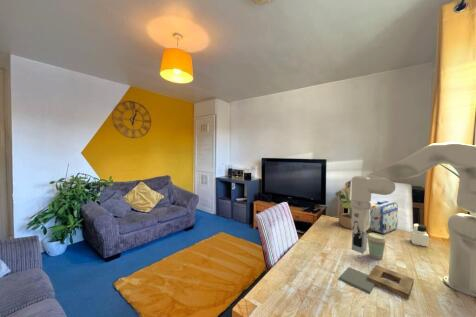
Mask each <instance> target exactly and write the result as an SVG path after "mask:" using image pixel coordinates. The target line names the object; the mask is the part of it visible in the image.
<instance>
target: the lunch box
mask: <svg viewBox="0 0 476 317" xmlns="http://www.w3.org/2000/svg"><path fill="white" fill-rule="evenodd" d="M398 206H399V204H398V203H397V202H396V201H395V202H394V201H393V202H392V201H389V200H388V201H387V200H383V201H377V202H376V203H373V204H372V203H371V209H370V210H369V211H370V230H371V231H373V232H376V233H379V234H381V235H385V234H388V233H390V232H392V231H395V230H396V229H398V225H399V219H398V218H399V216H398V214H399V207H398Z"/></svg>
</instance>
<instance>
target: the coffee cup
mask: <svg viewBox="0 0 476 317" xmlns="http://www.w3.org/2000/svg"><path fill="white" fill-rule="evenodd" d="M367 242H368V243H367V245H368V252H369V253H368V255H369V257H370V258H372V259H374V260H376V261H377V260H378V261H381V260H383V256H384V251H385V245H386V242H387V238H386V237H385V236H384V234H381V233H378V232H376V233H375V232H368V233H367Z"/></svg>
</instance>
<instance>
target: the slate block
mask: <svg viewBox="0 0 476 317" xmlns="http://www.w3.org/2000/svg"><path fill="white" fill-rule="evenodd" d="M351 233H352V235H351V239H352V240H351V251H355V252H358V253H361V254H364V253H365V252H366V251H367V245H368V243H367V242H368V238H367V236H368V232H367V231H366V232H364V233H363V232H362V234H361V238H362V247H358V246H355V245H353V231H352V232H351ZM358 233H359V232H358Z"/></svg>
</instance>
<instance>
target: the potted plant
mask: <svg viewBox="0 0 476 317" xmlns="http://www.w3.org/2000/svg"><path fill="white" fill-rule="evenodd" d="M345 192H346V193H345ZM334 195H335V196H336V197H340V196H341V195H343V197H344V198H341V199H340V201H341V202H342V201H343V203H342V204H341V207H343V208H344V209H348V210H349V211H348V213H346V212H345V213H341V214H340V216H339V218H338V222H339V225H341V226H342V227H344V228H346V229H350V230H353V229H352V227H351V221H352V210H353V207H351V197H350V194H349V189H348V188H346V191H344V190H342V189H339V191H337V192H336V193H335V194H334Z"/></svg>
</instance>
